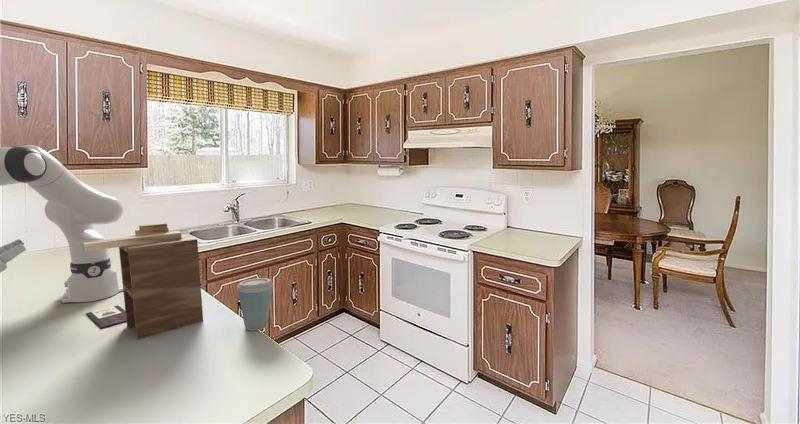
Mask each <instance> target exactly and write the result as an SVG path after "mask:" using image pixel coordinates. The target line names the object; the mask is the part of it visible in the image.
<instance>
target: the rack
mask: <svg viewBox="0 0 800 424" xmlns="http://www.w3.org/2000/svg"><path fill="white" fill-rule="evenodd" d="M138 227H139V229H136V230H135V231H134V232H135V233H134V235H130V236H129V237H133V236H141V235H149V234H158V233H166V232H170V231H169V230H170V229H169V227H168V223H166V222H160V223H151V224H140V225H139V226H138ZM181 236H182V239H175V240H168V241H160V242H153V243H145V244H138V245H130V246H123V247H118V250H119V261H120V262H119V263H120V271H121V280H122V281H121V282H122V287H123V291H122V292H123V299H124V300H123V302H124V310H125V312H126V322H125V323H126V328H131V327H135V334H136V335H135V336H136V339H137V340H140V339H145V338H147V337H151V336H154V335H158V334H162V333H165V332H169V331H172V330H176V329H179V328H182V327H186V326H190V325H192V324H196V323H201V322H202V321H204V314H203V301H202V300H203V299H202V287H201V286H202V285H201V272H200V271H201V270H200V259H199V244H198V239H197V238H196V237H192V236H191V235H187V234H184V233H181Z"/></svg>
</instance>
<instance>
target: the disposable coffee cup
mask: <svg viewBox="0 0 800 424" xmlns="http://www.w3.org/2000/svg"><path fill="white" fill-rule="evenodd" d="M274 286H275V285H274V283H273V282H272V279H270V278H267V277H266V278H265V277H261V278H260V277H259V278H249V279H246V280H245V279H244V280H242V281H240V282H239V283H238V284H237V285H236V290H237V293H238V297H239V299H238V300H239V302H240V303H239V304H240V310H241V314H242V319H243V320H242V321H243V324H244V328H245V329H246V330H247V331H260V330H263V329H265V328H266V327H267V326H268V323H269V316H270V310H271V309H270V308H271V302H272V294H273V288H274ZM256 329H257V330H256Z"/></svg>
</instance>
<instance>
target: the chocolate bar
mask: <svg viewBox="0 0 800 424" xmlns="http://www.w3.org/2000/svg"><path fill="white" fill-rule="evenodd" d="M85 314H86V316H87V317H88V318H89V319H90V320H92V321H93V322H94V323H95V324H96V325H97V326H98V327H99V328H100V329H101V330H102V329H106V328H110V327H113V326H117V325H122V324H124V323H127V322H126V312H125V308H122V307H121V306H120V305H114V306H110V307H105V308H101V309H97V310H93V311H89V312H86V313H85Z"/></svg>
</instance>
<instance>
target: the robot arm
mask: <svg viewBox="0 0 800 424" xmlns="http://www.w3.org/2000/svg"><path fill="white" fill-rule="evenodd" d="M21 183H22V184H26V185H28V186H29V187H30V188H31V189H33V190H34V191H35V192H36V193H37V194H39V195H40V196H41V197H42V198H43V199H45V200H46V201H47V202H46V204H45V205H44V214H45V216H46V218H47V219H48V220H49V221H50V222H52V223H54V224H55V225H57V227H58V228H59V229H60V230H61V232H62V233H63V234H64V237H65V238H66V240H67V244H68V249H69V256H70V260H71V261H70V264H69V269H70V273H71V274H70V276H68V278H67V279H66V281H64V282H63V283H64V287H65V288H66V289H65V292H64V294H63V296H62V299H61V303H87V302H93V301H94V302H95V301H100V300H103V299H106V298H109V297H112V296H114V295H117V294H118V293H121V292H123V286H122V285H121V286H120V285H119V282H118V280H119V279H118V275H117V274H118V273H117V271H116V270H115V269H113V268H112V261H111V258H110V257H109V248H108V249H100V250H93V251H84V250H83V246H82V243H83V242H91V241H99V240H107V238H106V237H105V236H104V235H103V234H101V233H99V232H98V231H97V230H96V229H95V227H94V226H93V225H99V226H100V225H107V224H112V223H115V222H118V221H119V220H120V219H121V218H122V215H123V213H124V207H123V205H122V202H121V201H120V200H119V199H118V198H116V197H114V196H110V195H107V194H105V193H103V192H101V191H98V190H97V189H95V188H92V186H89V185H87V184H86V183H84V182H83V181H81V180H80V179H78V177H76V176H75V175H74V174H73V173H72V172H71V171H70V170H69V169H68V168H66V167H65V165H63V164H62V163H61V162H60V161H59V160H58V159H57V158H56V157H54V156H53V155H52V154H50V153H48V152H47V151H46V150H44V149H43V148H41V147H39V146H37V145H33V144H24V145H21V146H14V147H12V146H0V186H7V185H15V184H21ZM24 245H25V242H23V240H22V239H19V238H18V239H16V240H14V241H12V242H9V243H6V244H4V245H1V246H0V274H1V273H2V272H3V271H6V269H8V265H7V263H8V262H11V261H12V260H14V259H15V258H16V257H18V256H19V255H20V254H22V253H24V252H26V251H27V248H26V247H25V246H24Z"/></svg>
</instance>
